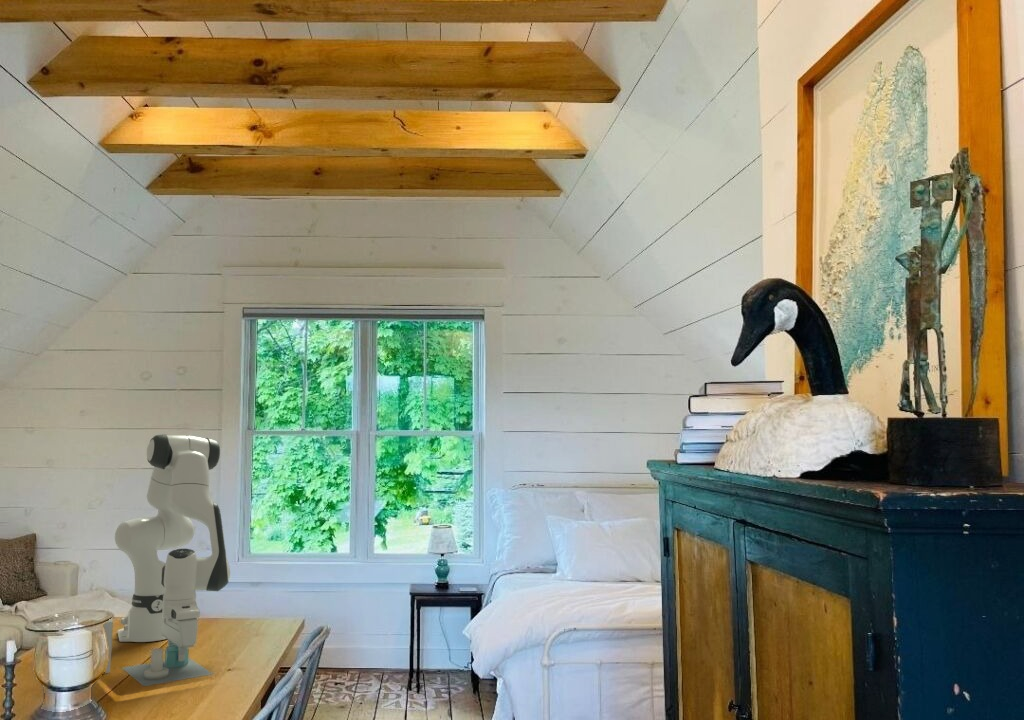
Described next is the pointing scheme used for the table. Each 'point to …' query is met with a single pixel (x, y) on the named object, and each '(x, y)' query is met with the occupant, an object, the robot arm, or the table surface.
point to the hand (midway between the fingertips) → (176, 658)
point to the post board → (171, 672)
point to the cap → (174, 657)
